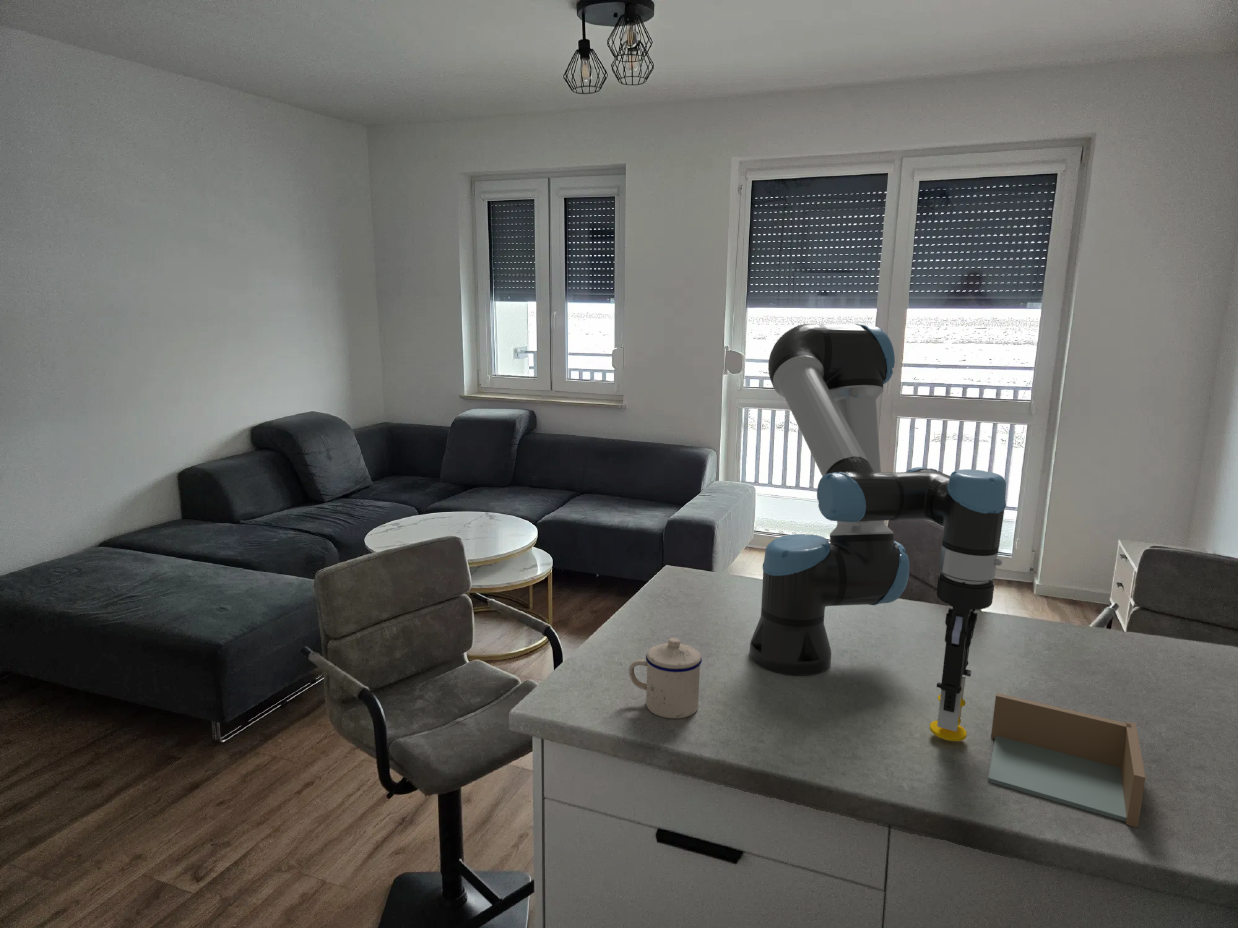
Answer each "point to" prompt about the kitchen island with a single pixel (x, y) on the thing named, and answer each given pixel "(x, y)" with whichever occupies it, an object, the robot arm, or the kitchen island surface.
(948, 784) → the kitchen island surface
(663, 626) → the kitchen island surface
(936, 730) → the candle
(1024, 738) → the open room model
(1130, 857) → the kitchen island surface
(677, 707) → the teacup with lid
